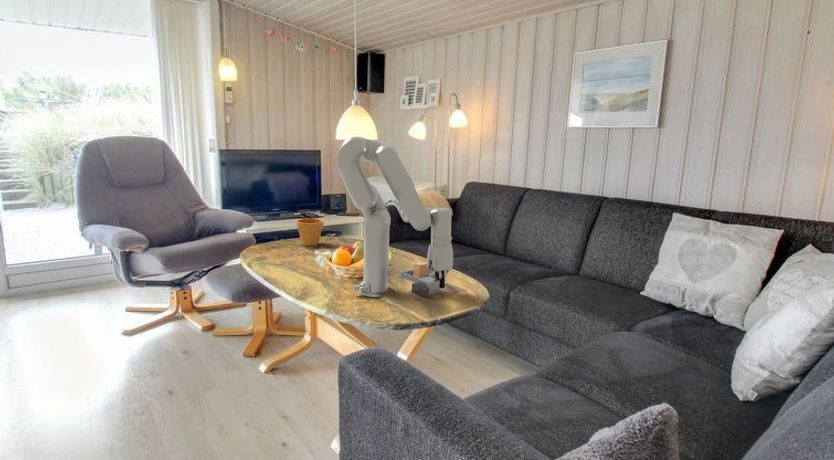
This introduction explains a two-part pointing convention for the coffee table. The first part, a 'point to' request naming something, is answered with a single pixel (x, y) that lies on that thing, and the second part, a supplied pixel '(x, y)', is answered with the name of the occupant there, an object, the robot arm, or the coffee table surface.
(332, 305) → the coffee table surface
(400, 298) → the coffee table surface
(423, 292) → the slide board
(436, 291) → the grey cube block
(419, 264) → the light orange block
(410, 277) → the tray
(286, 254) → the coffee table surface
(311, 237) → the flower pot
